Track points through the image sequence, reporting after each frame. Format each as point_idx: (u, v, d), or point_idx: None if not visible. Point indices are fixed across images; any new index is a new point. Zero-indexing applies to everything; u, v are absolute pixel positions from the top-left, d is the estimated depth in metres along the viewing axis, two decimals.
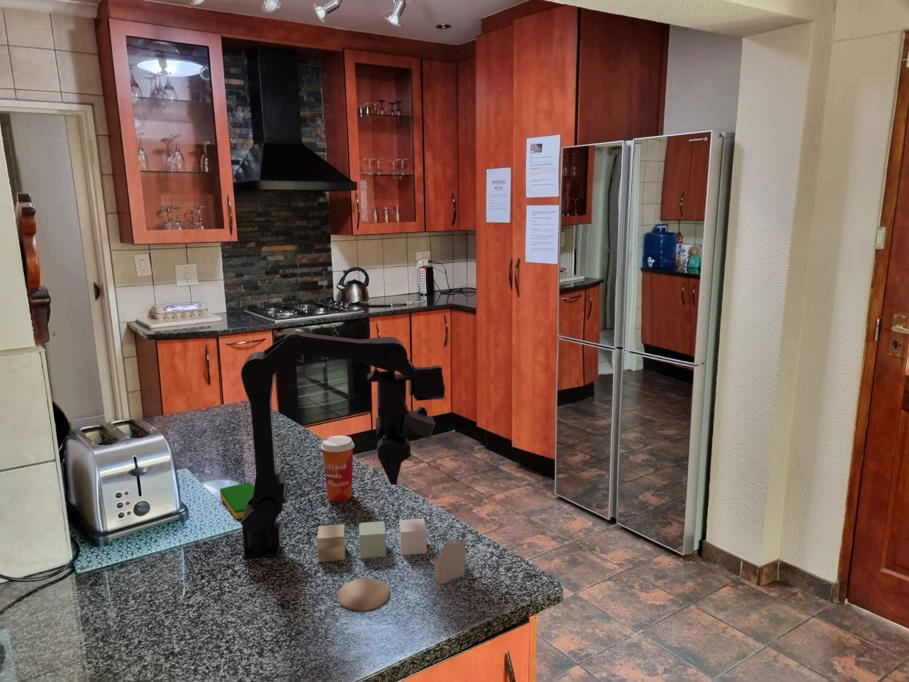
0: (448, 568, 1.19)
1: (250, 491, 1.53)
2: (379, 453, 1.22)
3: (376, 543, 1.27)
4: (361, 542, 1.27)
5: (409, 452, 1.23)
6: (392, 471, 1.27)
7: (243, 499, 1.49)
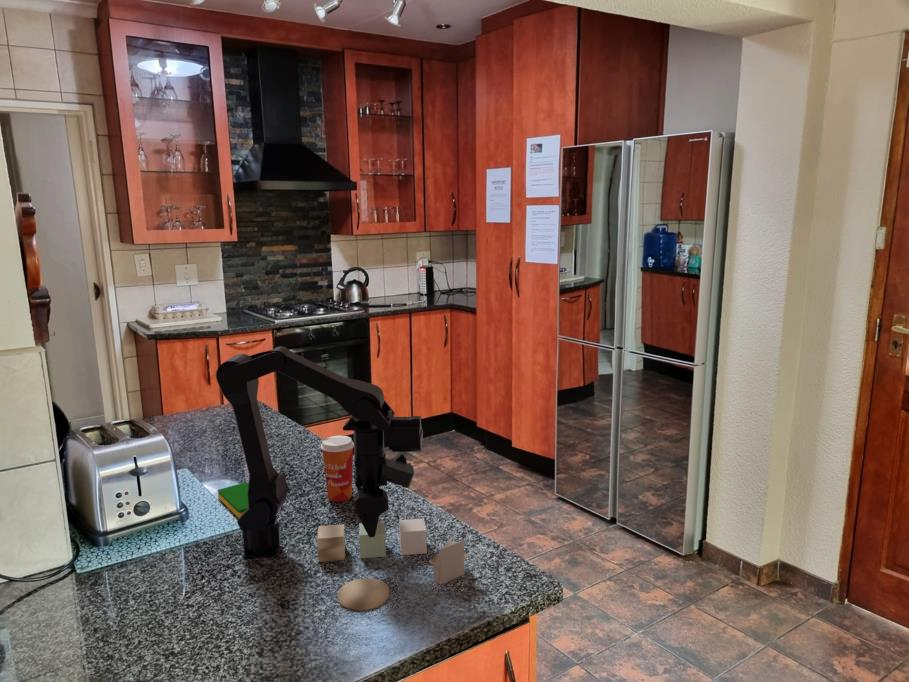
0: (447, 568, 1.19)
1: None
2: (355, 507, 1.18)
3: (376, 543, 1.27)
4: (361, 542, 1.27)
5: (387, 506, 1.19)
6: (370, 524, 1.23)
7: (244, 499, 1.49)
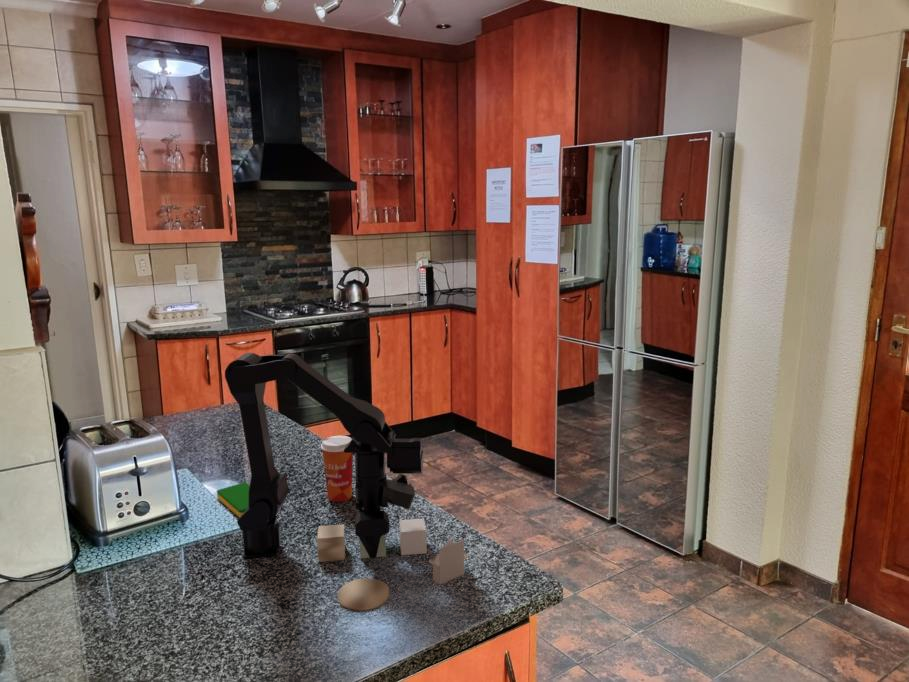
0: (447, 568, 1.19)
1: None
2: (357, 530, 1.19)
3: None
4: (361, 542, 1.27)
5: (388, 528, 1.20)
6: (371, 545, 1.24)
7: (244, 499, 1.49)
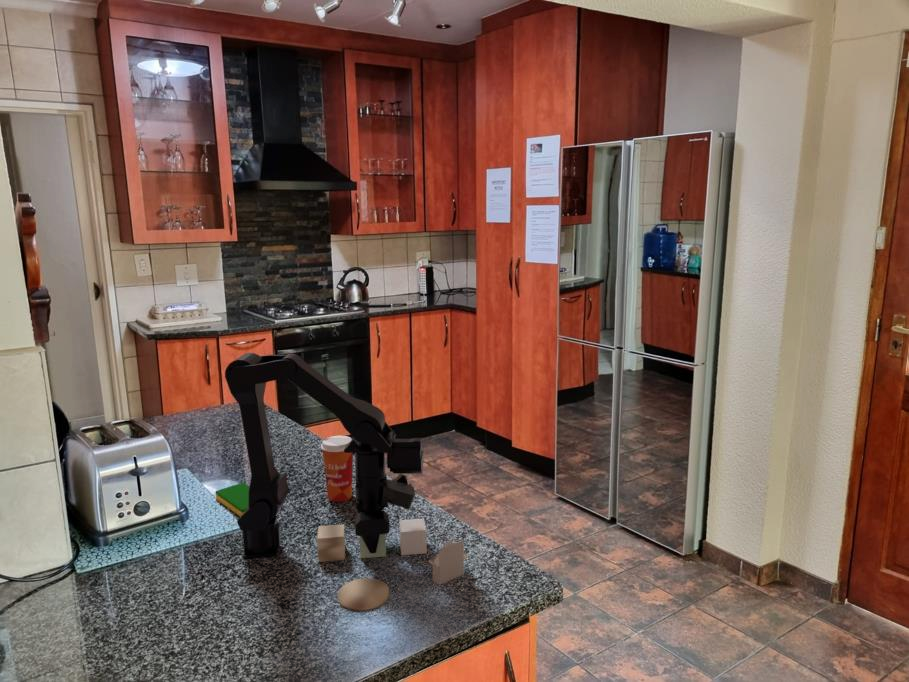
0: (447, 568, 1.19)
1: None
2: (357, 530, 1.19)
3: None
4: (361, 541, 1.27)
5: (388, 528, 1.20)
6: (371, 540, 1.26)
7: (245, 499, 1.49)
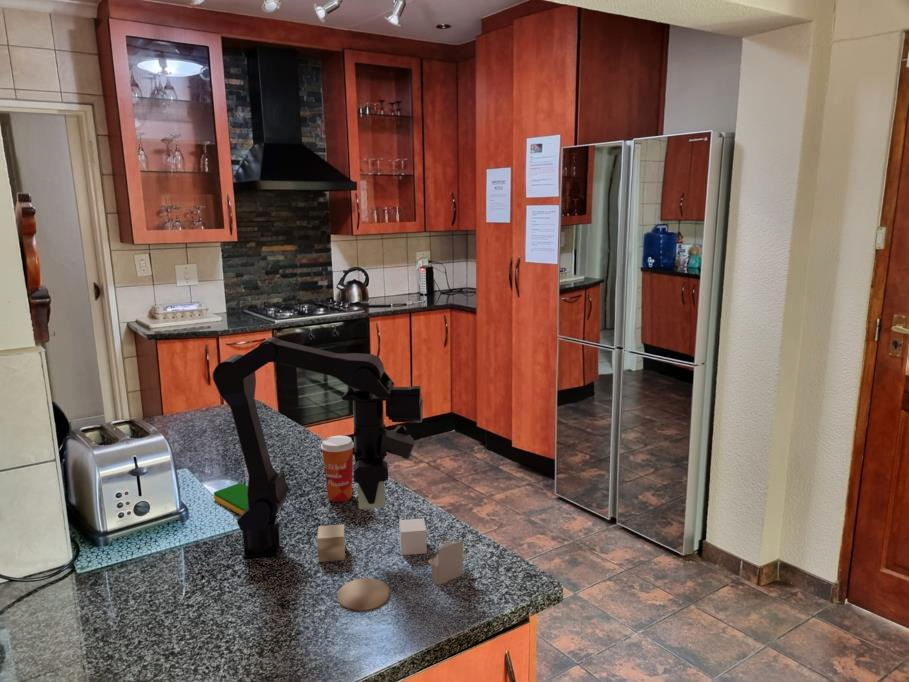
0: (446, 568, 1.19)
1: None
2: (355, 477, 1.17)
3: None
4: (360, 492, 1.25)
5: (387, 475, 1.18)
6: (370, 490, 1.24)
7: (246, 498, 1.49)
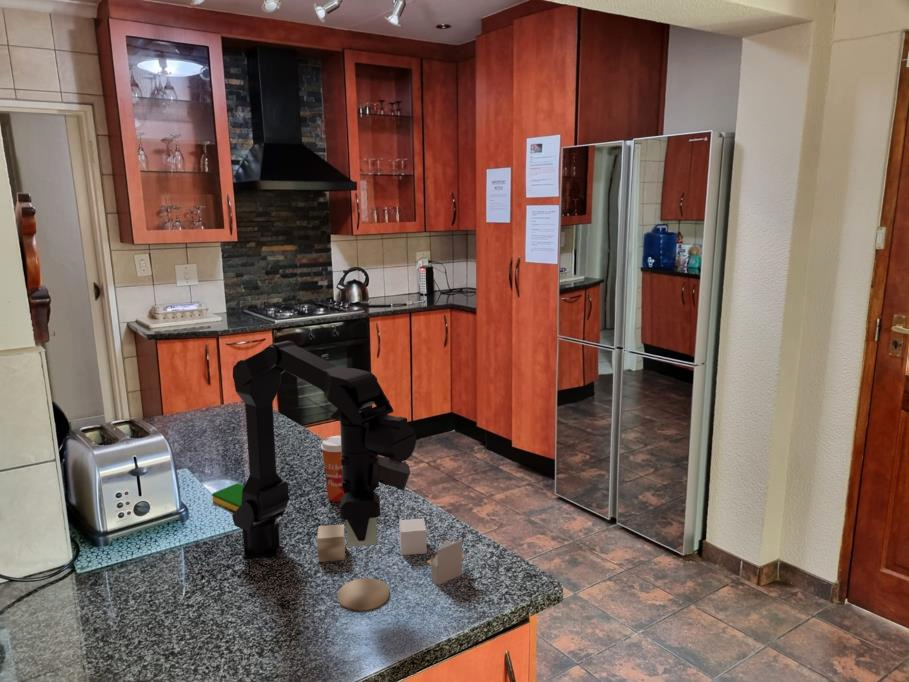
0: (445, 569, 1.19)
1: None
2: (342, 513, 1.02)
3: None
4: (348, 527, 1.10)
5: (378, 511, 1.03)
6: (360, 526, 1.09)
7: None
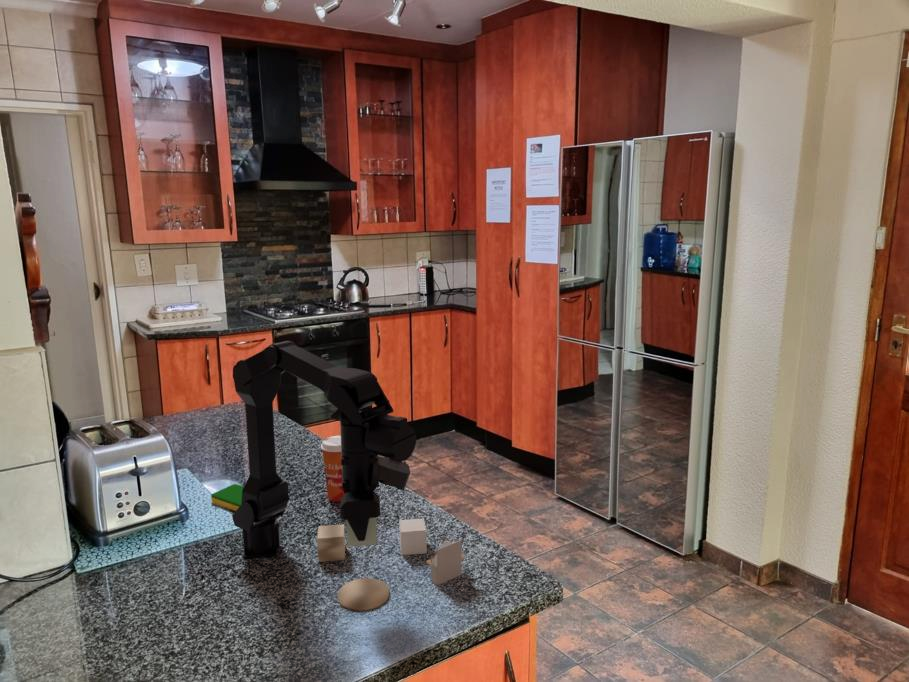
0: (445, 569, 1.19)
1: None
2: (342, 513, 1.02)
3: None
4: (348, 527, 1.10)
5: (378, 511, 1.03)
6: (359, 526, 1.09)
7: None
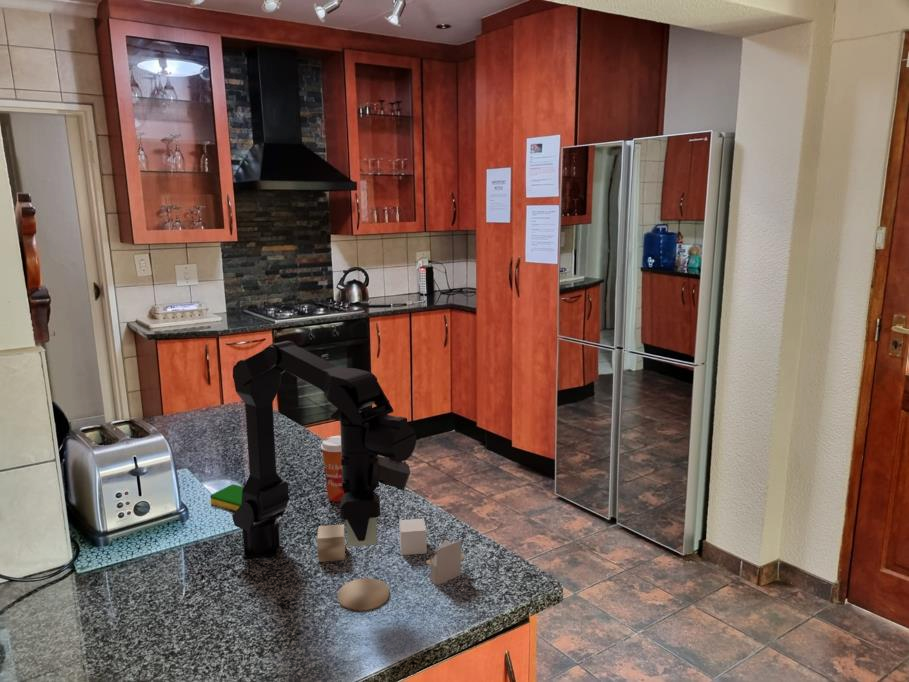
0: (444, 569, 1.19)
1: None
2: (342, 513, 1.02)
3: None
4: (348, 527, 1.10)
5: (378, 511, 1.03)
6: (359, 526, 1.09)
7: None
